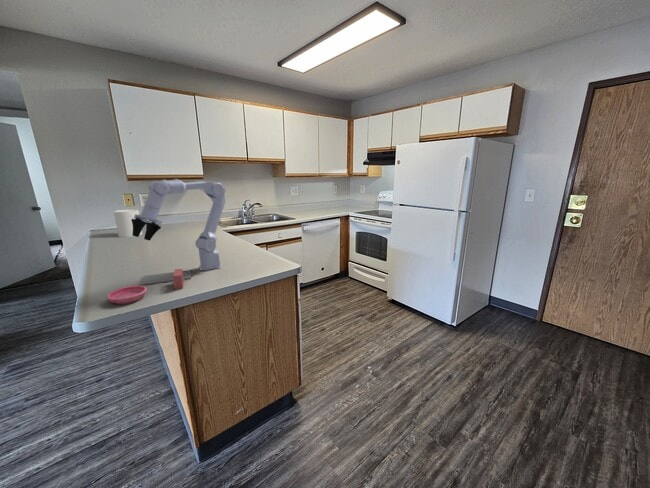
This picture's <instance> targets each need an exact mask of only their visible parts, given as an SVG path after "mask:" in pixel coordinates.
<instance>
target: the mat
mask: <svg viewBox="0 0 650 488" xmlns="http://www.w3.org/2000/svg"><path fill="white" fill-rule="evenodd" d="M173 274H174V271H173V272H172V271H171V272H164V273H156V274H148V275H143V277H142V279H141V280H140V282H139V284H138V285H139V286H149V285H156V284H164V283H170V282H174V280H173ZM183 276H184V281H185V280H190V279H191V276H192V270H191V269H188V270H183Z"/></svg>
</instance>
